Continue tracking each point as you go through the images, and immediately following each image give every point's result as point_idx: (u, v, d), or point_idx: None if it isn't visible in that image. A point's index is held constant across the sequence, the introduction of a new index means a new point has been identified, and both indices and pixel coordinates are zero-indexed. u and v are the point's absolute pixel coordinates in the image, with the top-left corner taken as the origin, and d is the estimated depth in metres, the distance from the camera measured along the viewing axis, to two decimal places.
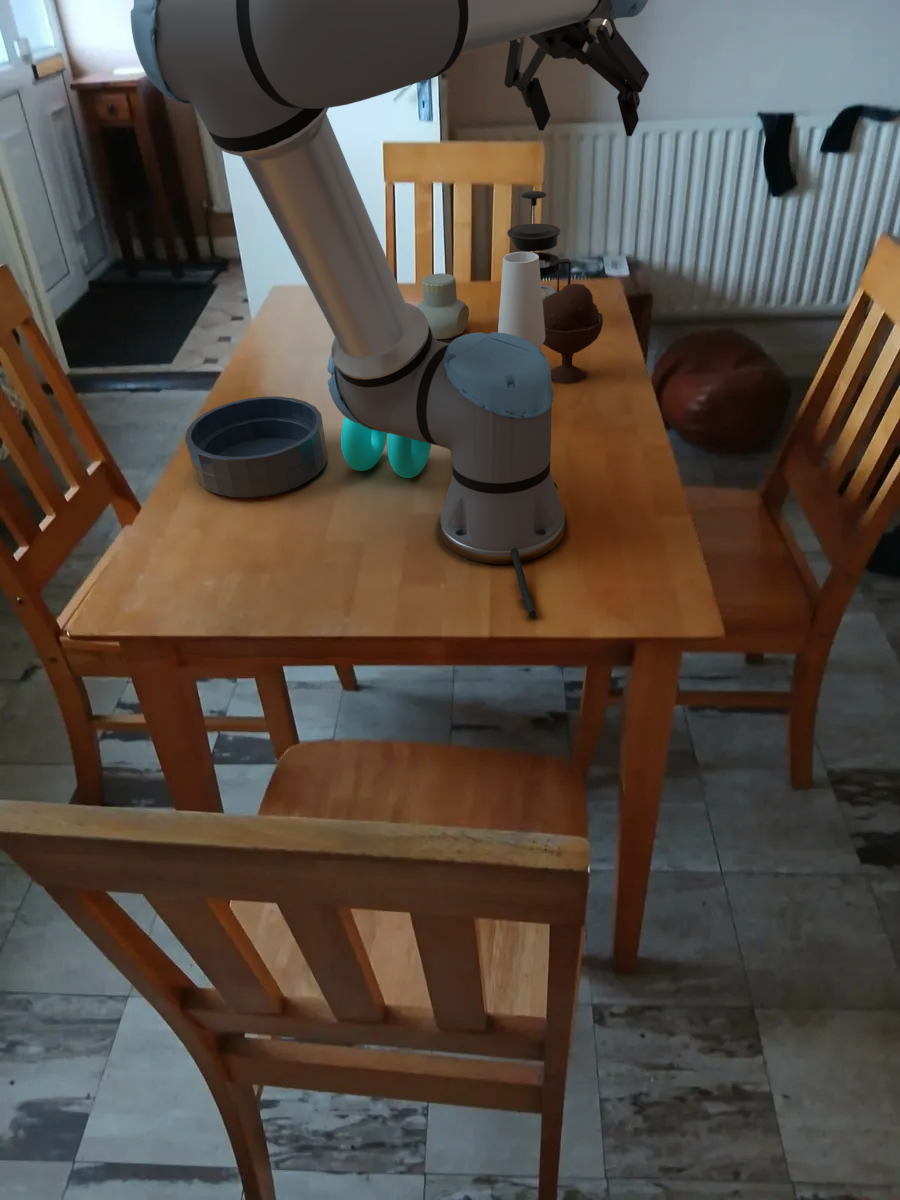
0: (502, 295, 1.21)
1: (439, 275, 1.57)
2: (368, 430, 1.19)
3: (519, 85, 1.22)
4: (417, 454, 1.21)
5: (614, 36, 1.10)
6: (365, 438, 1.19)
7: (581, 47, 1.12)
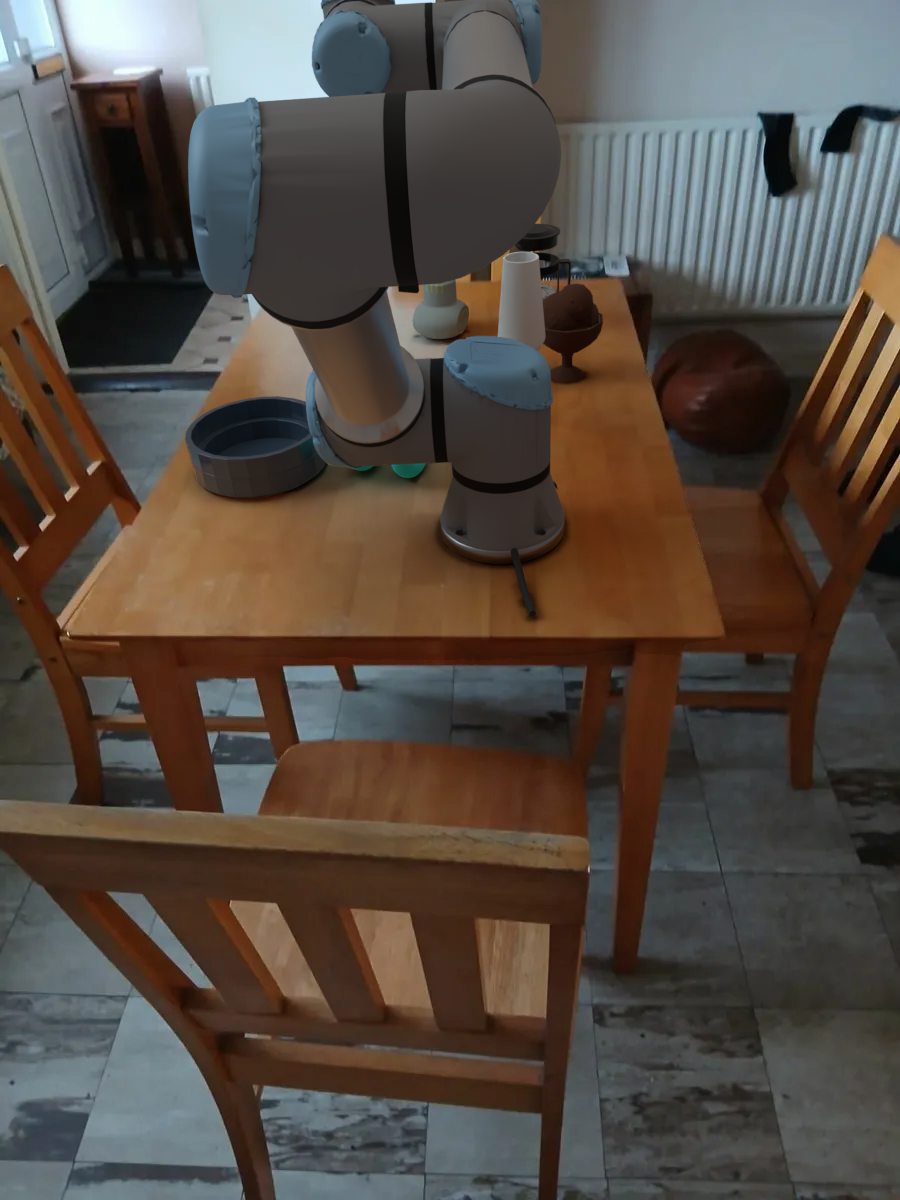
0: (502, 295, 1.21)
1: None
2: None
3: None
4: None
5: None
6: None
7: None
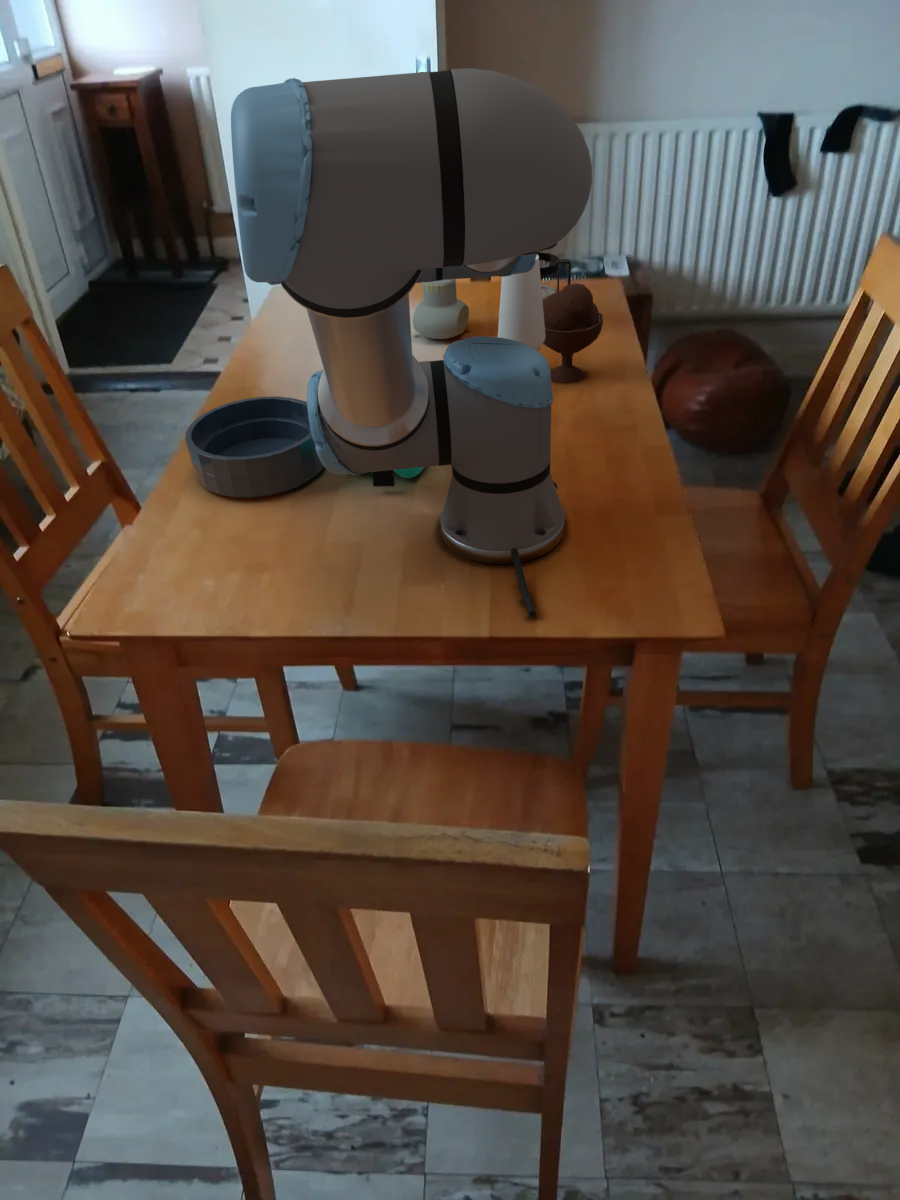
0: (502, 295, 1.21)
1: None
2: None
3: None
4: None
5: None
6: None
7: None
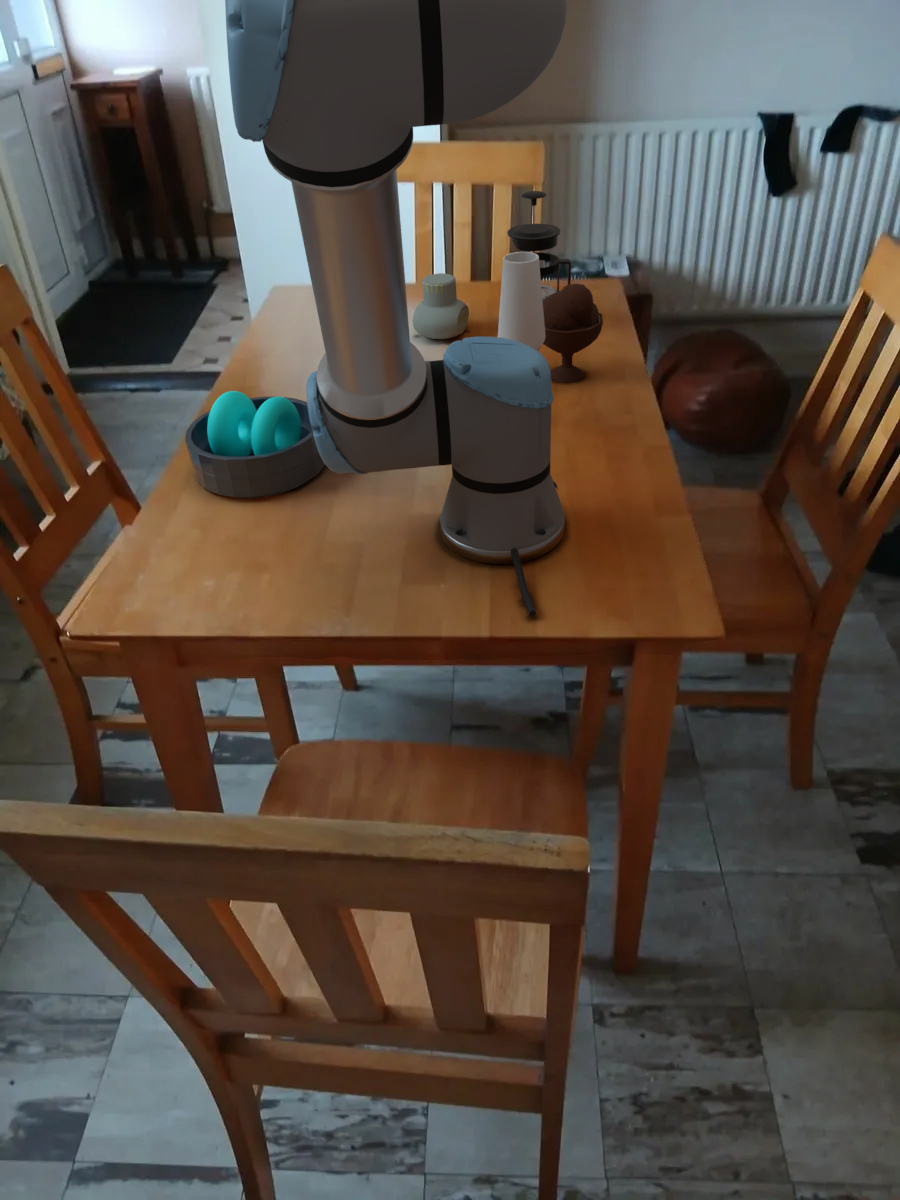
0: (502, 295, 1.21)
1: (439, 275, 1.57)
2: (233, 423, 1.21)
3: None
4: (284, 447, 1.23)
5: None
6: (231, 431, 1.21)
7: None
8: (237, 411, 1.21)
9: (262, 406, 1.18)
